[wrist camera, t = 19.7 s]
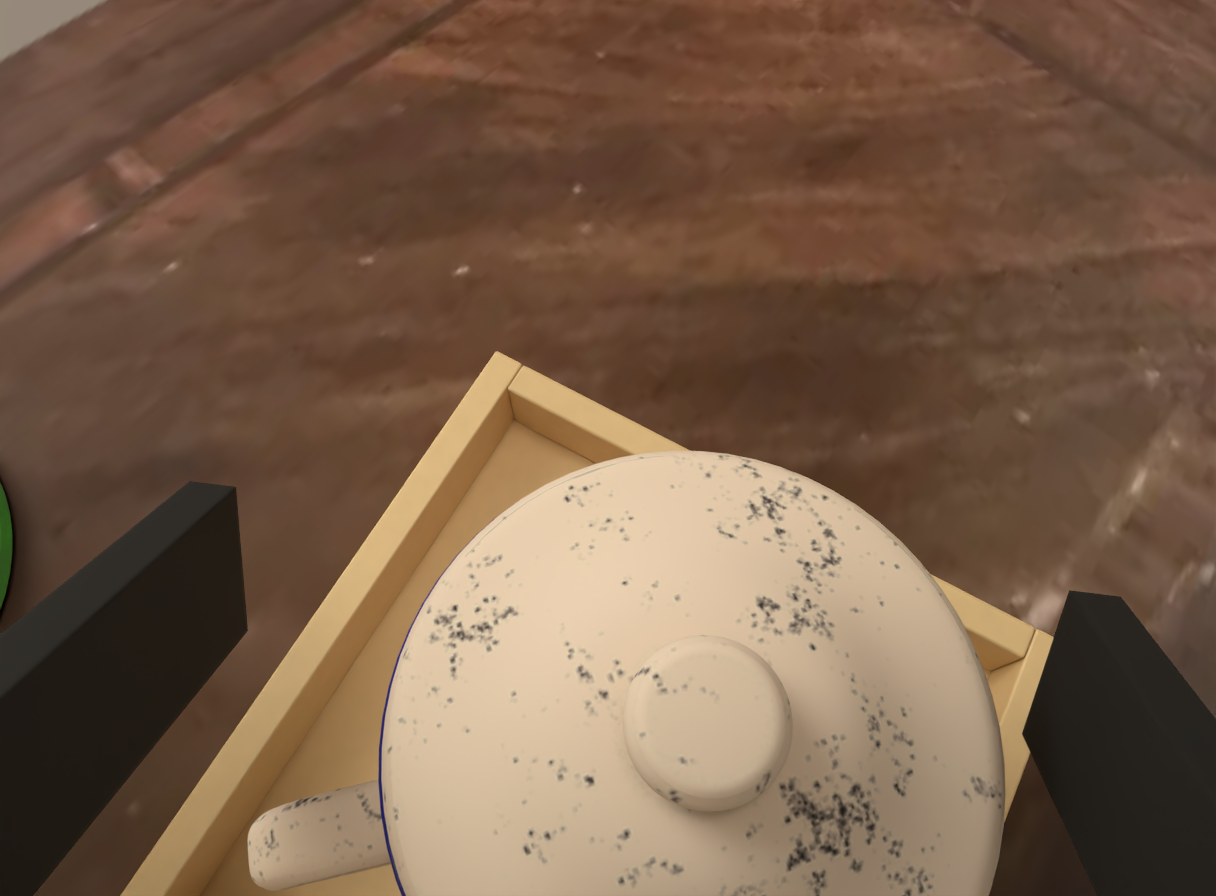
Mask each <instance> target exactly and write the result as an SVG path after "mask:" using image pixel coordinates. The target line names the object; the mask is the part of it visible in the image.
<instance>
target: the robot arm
mask: <svg viewBox="0 0 1216 896" xmlns="http://www.w3.org/2000/svg"><path fill="white" fill-rule="evenodd" d="M247 631H248V629H247V616H246V604H245V592H244V580H243V568H242V556H241V544H240V532H239V519H238V507H237V495H236V487H231V486H223V485H215V484H207V483H199V482H191V481H190V482H189V483H187V484H186V485H185V486H184V487H182V488H181V489H180V490H179V491H177V492H176V493H175V494H174V495H172V496H171V497H170V498H169V499H167V500H166V501H165V502H164V503H162V504H161V505H160V506H159V507H158V508H156V509H155V510H154V511H153V512H151V513H150V514H149V515H148V516H146V517H145V518H144V519H143V520H141V521H140V522H139V523H138V524H136V525H135V526H134V527H133V528H132V529H130V530H129V531H128V532H127V533H125V534H124V535H123V536H122V537H120V538H119V539H118V540H117V541H115V542H114V543H113V544H112V545H110V546H109V547H108V548H107V549H106V550H104V551H103V552H102V553H101V554H99V555H98V556H97V557H96V558H94V559H93V560H92V561H91V562H89V563H88V564H87V565H86V566H84V567H83V568H82V569H81V570H80V571H78V572H77V573H76V574H75V575H73V576H72V577H71V578H70V579H68V580H67V581H66V582H65V583H63V584H62V585H61V586H60V587H58V588H57V589H56V590H55V591H54V592H52V593H51V594H50V595H49V596H47V597H46V598H45V599H44V600H42V601H41V602H40V603H39V604H37V605H36V606H35V607H34V608H32V609H31V610H30V611H29V612H28V613H26V614H25V615H24V616H23V617H21V618H20V619H19V620H18V621H16V622H15V623H14V624H13V625H11V626H10V627H9V628H8V629H6V630H5V631H4V632H3V633H1V632H0V896H33V895H34V894H35V892H36V891H37V890H38V889H39V888H40V886H41V885H42V884H43V883H44V881H45V880H46V879H47V878H48V876H49V875H50V874H51V873H52V872H53V870H54V869H55V868H56V867H57V865H58V864H59V863H60V862H61V860H62V859H63V858H64V857H65V855H66V854H67V853H68V852H69V851H70V849H71V848H72V847H73V846H74V844H75V843H76V842H77V841H78V839H79V838H80V837H81V836H82V834H83V833H84V832H85V831H86V830H87V828H88V827H89V826H90V825H91V823H92V822H93V821H94V820H95V818H96V817H97V816H98V815H99V814H100V812H101V811H102V810H103V809H104V807H105V806H106V805H107V804H108V802H109V801H110V800H111V799H112V797H113V796H114V795H115V794H116V793H117V791H118V790H119V789H120V788H121V786H122V785H123V784H124V783H125V781H126V780H127V779H128V778H129V777H130V775H131V774H132V773H133V772H134V770H135V769H136V768H137V767H138V765H139V764H140V763H141V762H142V760H143V759H144V758H145V757H146V756H147V754H148V753H149V752H150V751H151V749H152V748H153V747H154V746H155V744H156V743H157V742H158V741H159V739H160V738H161V737H162V736H163V735H164V733H165V732H166V731H167V730H168V728H169V727H170V726H171V725H172V723H173V722H174V721H175V720H176V719H177V717H178V716H179V715H180V714H181V712H182V711H183V710H184V709H185V707H186V706H187V705H188V704H189V702H190V701H191V700H192V699H193V698H194V696H195V695H196V694H197V693H198V691H199V690H200V689H201V688H202V686H203V685H204V684H205V683H206V682H207V680H208V679H209V678H210V677H211V675H212V674H213V673H214V672H215V670H216V669H217V668H218V667H219V665H220V664H221V663H222V662H223V661H224V659H225V658H226V657H227V656H228V654H229V653H230V652H231V651H232V649H233V648H234V647H235V646H236V645H237V643H238V642H239V641H240V640H241V638H242V637H243V636H244V635H245V633H246V632H247ZM1022 735H1023V738H1024V740H1025V742H1026V744H1027V746H1028V748H1029V750H1030V753H1031V755H1032V757H1033V759H1034V761H1035V763H1036V765H1037V767H1038V770H1039V772H1040V774H1041V776H1042V778H1043V780H1044V782H1045V785H1046V787H1047V789H1048V791H1049V793H1050V795H1051V797H1052V799H1053V802H1054V804H1055V806H1056V808H1057V810H1058V812H1059V814H1060V817H1061V819H1062V821H1063V823H1064V825H1065V827H1066V829H1067V831H1068V834H1069V836H1070V838H1071V840H1072V842H1073V844H1074V846H1075V849H1076V851H1077V853H1078V855H1079V857H1080V859H1081V861H1082V863H1083V866H1084V868H1085V870H1086V872H1087V874H1088V876H1089V878H1090V881H1091V883H1092V885H1093V887H1094V889H1095V891H1096V893H1097V895H1098V896H1216V719H1215V718H1214V717H1213V715H1212V714H1211V713H1210V711H1209V710H1208V709H1207V707H1206V706H1205V705H1204V704H1203V702H1202V701H1201V700H1200V698H1199V697H1198V696H1197V695H1196V693H1195V692H1194V691H1193V689H1192V688H1191V687H1190V686H1189V684H1188V683H1187V682H1186V680H1185V679H1184V678H1183V676H1182V675H1181V674H1180V673H1179V671H1178V670H1177V669H1176V667H1175V666H1174V665H1173V664H1172V662H1171V661H1170V660H1169V658H1168V657H1167V656H1166V655H1165V653H1164V652H1163V651H1162V649H1161V648H1160V647H1159V646H1158V644H1157V643H1156V642H1155V640H1154V639H1153V638H1152V636H1151V635H1150V634H1149V633H1148V631H1147V630H1146V629H1145V627H1144V626H1143V625H1142V624H1141V622H1140V621H1139V620H1138V618H1137V617H1136V616H1135V615H1134V613H1133V612H1132V611H1131V609H1130V608H1129V607H1128V605H1127V604H1126V603H1125V602H1124V600H1123V599H1122V598H1121V597H1118V596H1110V595H1102V594H1094V593H1086V592H1077V591H1069V593H1068V596H1067V599H1066V602H1065V605H1064V608H1063V611H1062V614H1061V617H1060V620H1059V623H1058V626H1057V629H1056V632H1055V635H1054V638H1053V641H1052V644H1051V647H1050V650H1049V653H1048V656H1047V659H1046V662H1045V666H1044V669H1043V672H1042V675H1041V678H1040V681H1039V684H1038V687H1037V690H1036V693H1035V696H1034V699H1033V702H1032V705H1031V708H1030V711H1029V714H1028V717H1027V720H1026V723H1025V726H1024V729H1023V732H1022Z"/></svg>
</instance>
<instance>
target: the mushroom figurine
mask: <svg viewBox="0 0 1216 896" xmlns="http://www.w3.org/2000/svg"><path fill="white" fill-rule="evenodd" d="M11 560H12V525H11V517H10V511H9V507H8V503H7V499H6V496H5V493H4V490H3V488H2V485H1V483H0V609H1V606H2V603H3V600H4V597H5V594H6V589H7V585H8V580H9V576H10V569H11Z"/></svg>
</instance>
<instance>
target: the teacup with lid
mask: <svg viewBox="0 0 1216 896" xmlns="http://www.w3.org/2000/svg"><path fill="white" fill-rule="evenodd" d="M1005 794H1006V790H1005V766H1004V754H1003V747H1002V740H1001V732H1000V726H999V722H998V717H997V713H996V709H995V704H994V700H993V696H992V693H991V690H990V687H989V684H988V681H987V678H986V675H985V672H984V669H983V666H982V664H981V661H980V659H979V657H978V654H977V652H976V650H975V647H974V645H973V643H972V640H971V638H970V636H969V634H968V632H967V631H966V629H965V627H964V625H963V623H962V621H961V619H960V618H959V616H958V614H957V612H956V610H955V609H954V607H953V606H952V604H951V603H950V601H949V600H948V598H947V597H946V595H945V594H944V592H943V591H942V589H941V588H940V586H939V585H938V584H937V582H936V581H935V580H934V578H933V577H932V576H931V575H930V573H929V572H928V571H927V570H926V568H925V567H924V566H923V565H922V563H921V562H920V561H919V560H918V559H917V558H916V557H915V556H914V555H913V554H912V553H911V552H910V550H909V549H908V548H907V547H906V546H905V545H904V544H903V543H902V542H901V541H900V540H899V539H898V538H897V537H895V536H894V535H893V534H892V533H891V532H890V531H889V530H888V529H886V528H885V527H884V526H883V525H882V524H881V523H880V522H879V521H877V520H876V519H875V518H873V517H872V516H870V515H869V514H868V513H866V512H865V511H864V510H862V509H861V508H860V507H858V506H857V505H856V504H854V503H852V502H851V501H849V500H848V499H846V498H844V497H843V496H841V495H839V494H838V493H836V492H835V491H833V490H831V489H829V488H827V487H825V486H823V485H821V484H819V483H817V482H815V481H813V480H811V479H809V478H807V477H805V476H802V475H800V474H797V473H795V472H792V471H790V470H787V469H784V468H782V467H779V466H775V465H772V464H769V463H765V462H762V461H758V460H755V459H750V458H745V457H740V456H735V455H730V454H723V453H714V452H704V451H664V452H650V453H643V454H637V455H631V456H625V457H620V458H616V459H612V460H608V461H604V462H601V463H597V464H594V465H591V466H588V467H585V468H583V469H580V470H577V471H574V472H572V473H569V474H567V475H565V476H563V477H561V478H559V479H556V480H554V481H552V482H550V483H548V484H546V485H544V486H542V487H541V488H539V489H537V490H536V491H534V492H532V493H531V494H529V495H527V496H525V497H524V498H522V499H521V500H519V501H518V502H516V503H515V504H513V505H512V506H511V507H509V508H508V509H507V510H505V511H504V512H502V513H501V514H500V515H498V516H497V517H496V518H495V519H494V520H492V521H491V522H490V523H489V524H488V525H487V526H486V527H484V528H483V529H482V530H481V531H480V532H479V533H478V534H476V535H475V536H474V537H473V539H472V540H471V541H470V542H469V543H468V544H467V545H466V546H465V547H464V548H463V549H462V550H461V551H460V552H459V553H458V554H457V556H456V557H455V558H454V559H453V561H452V562H451V563H450V564H449V566H448V567H447V568H446V569H445V571H444V572H443V573H442V575H441V576H440V577H439V578H438V580H437V581H436V583H435V585H434V586H433V588H432V589H431V591H430V592H429V594H428V596H427V597H426V599H425V600H424V602H423V603H422V605H421V607H420V609H419V611H418V613H417V615H416V617H415V619H414V621H413V623H412V625H411V626H410V628H409V630H408V633H407V635H406V638H405V640H404V643H403V645H402V648H401V650H400V653H399V655H398V658H397V661H396V664H395V667H394V671H393V674H392V677H391V681H390V684H389V687H388V692H387V697H386V702H385V707H384V712H383V717H382V725H381V734H380V744H379V774H378V780H373V781H369V782H365V783H361V784H357V785H352V786H348V787H344V788H340V789H336V790H332V791H328V792H324V793H321V794H317V795H313V796H310V797H306V798H303V799H299V800H296V801H293V802H290V803H287V804H284V805H281V806H279V807H276V808H273V809H271V810H269V811H267V812H265V813H264V814H262V815H261V816H260V817H259V818H258V819H257V820H256V821H255V822H254V823H253V824H252V826H251V828H250V830H249V833H248V841H247V844H248V859H249V869H250V874H251V877H252V879H253V881H254V882H255V883H256V884H257V885H258V886H259V887H261V888H263V889H266V890H270V891H278V890H284V889H288V888H293V887H297V886H302V885H306V884H311V883H315V882H319V881H324V880H328V879H332V878H337V877H341V876H345V875H349V874H354V873H358V872H362V871H366V870H370V869H375V868H379V867H383V866H387V865H392V868H393V872H394V876H395V879H396V882H397V885H398V887H399V890H400V893H401V895H402V896H989V894H990V891H991V887H992V883H993V879H994V875H995V871H996V867H997V863H998V860H999V854H1000V847H1001V841H1002V834H1003V828H1004V813H1005Z"/></svg>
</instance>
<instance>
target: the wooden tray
mask: <svg viewBox="0 0 1216 896" xmlns="http://www.w3.org/2000/svg"><path fill="white" fill-rule="evenodd" d="M664 451H690V450H688V449H686V448H684V447H682V446H680V445H678V444H676V443H674V442H672V441H670V440H668V439H666V438H664V437H662V436H660V435H659V434H657V433H655V432H653V431H651V430H649V429H647V428H645V427H643V426H641V425H639V424H637V423H635V422H633V421H631V420H629V419H627V418H625V417H623V416H622V415H620V414H618V413H616V412H614V411H612V410H610V409H608V408H606V407H604V406H602V405H600V404H598V403H596V402H594V401H592V400H590V399H588V398H586V397H585V396H583V395H581V394H579V393H577V392H575V391H573V390H571V389H569V388H567V387H565V386H563V385H561V384H559V383H557V382H555V381H553V380H551V379H549V378H548V377H546V376H544V375H542V374H540V373H538V372H536V371H534V370H532V369H530V368H528V367H526V366H522V364H521V363H519V362H517V361H515V360H513V359H511V358H509V357H507V356H505V355H504V354H502V353H500V352H498V351H496V352H495V353H494V355H493V356H492V358H491V359H490V361H489V362H488V363H487V365H486V366H485V368H484V369H483V371H482V372H481V374H480V375H479V376H478V378H477V379H476V381H475V382H474V384H473V385H472V387H471V388H470V390H469V391H468V392H467V394H466V395H465V397H464V398H463V400H462V401H461V403H460V404H459V405H458V407H457V408H456V410H455V411H454V413H453V414H452V416H451V417H450V419H449V420H448V421H447V423H446V424H445V426H444V427H443V429H442V430H441V432H440V433H439V434H438V436H437V437H436V439H435V440H434V442H433V443H432V445H431V446H430V448H429V449H428V450H427V452H426V453H425V455H424V456H423V458H422V459H421V461H420V462H419V463H418V465H417V466H416V468H415V469H414V471H413V472H412V474H411V475H410V477H409V478H408V479H407V481H406V482H405V484H404V485H403V487H402V488H401V490H400V491H399V492H398V494H397V495H396V497H395V498H394V500H393V501H392V503H391V504H390V506H389V507H388V508H387V510H386V511H385V513H384V514H383V516H382V517H381V519H380V520H379V521H378V523H377V524H376V526H375V527H374V529H373V530H372V532H371V533H370V535H369V536H368V537H367V539H366V540H365V542H364V543H363V545H362V546H361V548H360V549H359V550H358V552H357V553H356V555H355V556H354V558H353V559H352V561H351V562H350V564H349V565H348V566H347V568H346V569H345V571H344V572H343V574H342V575H341V577H340V578H339V579H338V581H337V582H336V584H335V585H334V587H333V588H332V590H331V591H330V593H329V594H328V595H327V597H326V598H325V600H324V601H323V603H322V604H321V606H320V607H319V608H318V610H317V611H316V613H315V614H314V616H313V617H312V619H311V620H310V622H309V623H308V624H307V626H306V627H305V629H304V630H303V632H302V633H301V635H300V636H299V637H298V639H297V640H296V642H295V643H294V645H293V646H292V648H291V649H290V651H289V652H288V653H287V655H286V656H285V658H284V659H283V661H282V662H281V664H280V665H279V666H278V668H277V669H276V671H275V672H274V674H273V675H272V677H271V678H270V680H269V681H268V682H267V684H266V685H265V687H264V688H263V690H262V691H261V693H260V694H259V695H258V697H257V698H256V700H255V701H254V703H253V704H252V706H251V707H250V709H249V710H248V711H247V713H246V714H245V716H244V717H243V719H242V720H241V722H240V723H239V724H238V726H237V727H236V729H235V730H234V732H233V733H232V735H231V736H230V738H229V739H228V740H227V742H226V743H225V745H224V746H223V748H222V749H221V751H220V752H219V753H218V755H217V756H216V758H215V759H214V761H213V762H212V764H211V765H210V767H209V768H208V769H207V771H206V772H205V774H204V775H203V777H202V778H201V780H200V781H199V782H198V784H197V785H196V787H195V788H194V790H193V791H192V793H191V794H190V796H189V797H188V798H187V800H186V801H185V803H184V804H183V806H182V807H181V809H180V810H179V811H178V813H177V814H176V816H175V817H174V819H173V820H172V822H171V823H170V825H169V826H168V827H167V829H166V830H165V832H164V833H163V835H162V836H161V838H160V839H159V840H158V842H157V843H156V845H155V846H154V848H153V849H152V851H151V852H150V854H149V855H148V856H147V858H146V859H145V861H144V862H143V864H142V865H141V867H140V868H139V869H138V871H137V872H136V874H135V875H134V877H133V878H132V880H131V881H130V883H129V884H128V885H127V887H126V888H125V890H124V891H123V893H122V894H121V896H402V895H401V893H400V890H399V887H398V885H397V882H396V879H395V876H394V872H393V868H392V865H387V866H383V867H379V868H375V869H370V870H366V871H362V872H358V873H354V874H349V875H345V876H341V877H337V878H332V879H328V880H324V881H319V882H315V883H311V884H306V885H302V886H297V887H293V888H288V889H284V890H278V891H270V890H266V889H263V888H261V887H259V886H258V885H257V884H256V883H255V882H254V881H253V879H252V877H251V874H250V869H249V859H248V844H247V841H248V833H249V830H250V828H251V826H252V824H253V823H254V822H255V821H256V820H257V819H258V818H259V817H260V816H261V815H262V814H264V813H265V812H267V811H269V810H271V809H273V808H276V807H279V806H281V805H284V804H287V803H290V802H293V801H296V800H299V799H303V798H306V797H310V796H313V795H317V794H321V793H324V792H328V791H332V790H336V789H340V788H344V787H348V786H352V785H357V784H361V783H365V782H369V781H373V780H378V774H379V744H380V734H381V725H382V717H383V712H384V707H385V702H386V697H387V692H388V687H389V684H390V681H391V677H392V674H393V671H394V667H395V664H396V661H397V658H398V655H399V653H400V650H401V648H402V645H403V643H404V640H405V638H406V635H407V633H408V630H409V628H410V626H411V625H412V623H413V621H414V619H415V617H416V615H417V613H418V611H419V609H420V607H421V605H422V603H423V602H424V600H425V599H426V597H427V596H428V594H429V592H430V591H431V589H432V588H433V586H434V585H435V583H436V581H437V580H438V578H439V577H440V576H441V575H442V573H443V572H444V571H445V569H446V568H447V567H448V566H449V564H450V563H451V562H452V561H453V559H454V558H455V557H456V556H457V554H458V553H459V552H460V551H461V550H462V549H463V548H464V547H465V546H466V545H467V544H468V543H469V542H470V541H471V540H472V539H473V537H474V536H475V535H476V534H478V533H479V532H480V531H481V530H482V529H483V528H484V527H486V526H487V525H488V524H489V523H490V522H491V521H492V520H494V519H495V518H496V517H497V516H498V515H500V514H501V513H502V512H504V511H505V510H507V509H508V508H509V507H511V506H512V505H513V504H515V503H516V502H518V501H519V500H521V499H522V498H524V497H525V496H527V495H529V494H531V493H532V492H534V491H536V490H537V489H539V488H541V487H542V486H544V485H546V484H548V483H550V482H552V481H554V480H556V479H559V478H561V477H563V476H565V475H567V474H569V473H572V472H574V471H577V470H580V469H583V468H585V467H588V466H591V465H594V464H597V463H601V462H604V461H608V460H612V459H616V458H620V457H625V456H631V455H637V454H643V453H650V452H664ZM930 575H931V574H930ZM931 576H932V577H933V578H934V580H935V581H936V582H937V584H938V585H939V586H940V588H941V589H942V591H943V592H944V594H945V595H946V597H947V598H948V600H949V601H950V603H951V604H952V606H953V607H954V609H955V610H956V612H957V614H958V616H959V618H960V619H961V621H962V623H963V625H964V627H965V629H966V631H967V632H968V634H969V636H970V638H971V640H972V643H973V645H974V647H975V650H976V652H977V654H978V657H979V659H980V661H981V664H982V666H983V669H984V672H985V675H986V678H987V681H988V684H989V687H990V690H991V693H992V696H993V700H994V704H995V709H996V713H997V717H998V722H999V726H1000V732H1001V740H1002V747H1003V754H1004V766H1005V790H1006V794H1005V813H1004V822H1005V819H1006V817H1007V814H1008V811H1009V809H1010V806H1011V803H1012V801H1013V798H1014V795H1015V793H1016V790H1017V787H1018V785H1019V782H1020V779H1021V777H1022V774H1023V771H1024V769H1025V766H1026V763H1027V761H1028V758H1029V755H1030V750H1029V748H1028V746H1027V744H1026V742H1025V740H1024V738H1023V735H1022V732H1023V729H1024V726H1025V723H1026V720H1027V717H1028V714H1029V711H1030V708H1031V705H1032V702H1033V699H1034V696H1035V693H1036V690H1037V687H1038V684H1039V681H1040V678H1041V675H1042V672H1043V669H1044V666H1045V662H1046V659H1047V656H1048V653H1049V650H1050V647H1051V644H1052V641H1053V638H1054V637H1052V636H1050V635H1048V634H1047V633H1045V632H1043V631H1041V630H1038V629H1036V630H1035V628H1034V627H1032V626H1030V625H1029V624H1027V623H1025V622H1023V621H1021V620H1019V619H1017V618H1015V617H1013V616H1011V615H1009V614H1007V613H1005V612H1003V611H1001V610H999V609H997V608H995V607H993V606H992V605H990V604H988V603H986V602H984V601H982V600H980V599H978V598H976V597H974V596H972V595H970V594H968V593H966V592H964V591H962V590H960V589H958V588H956V587H955V586H953V585H951V584H949V583H947V582H945V581H943V580H941V579H939V578H937V577H935V576H933V575H931Z"/></svg>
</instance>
